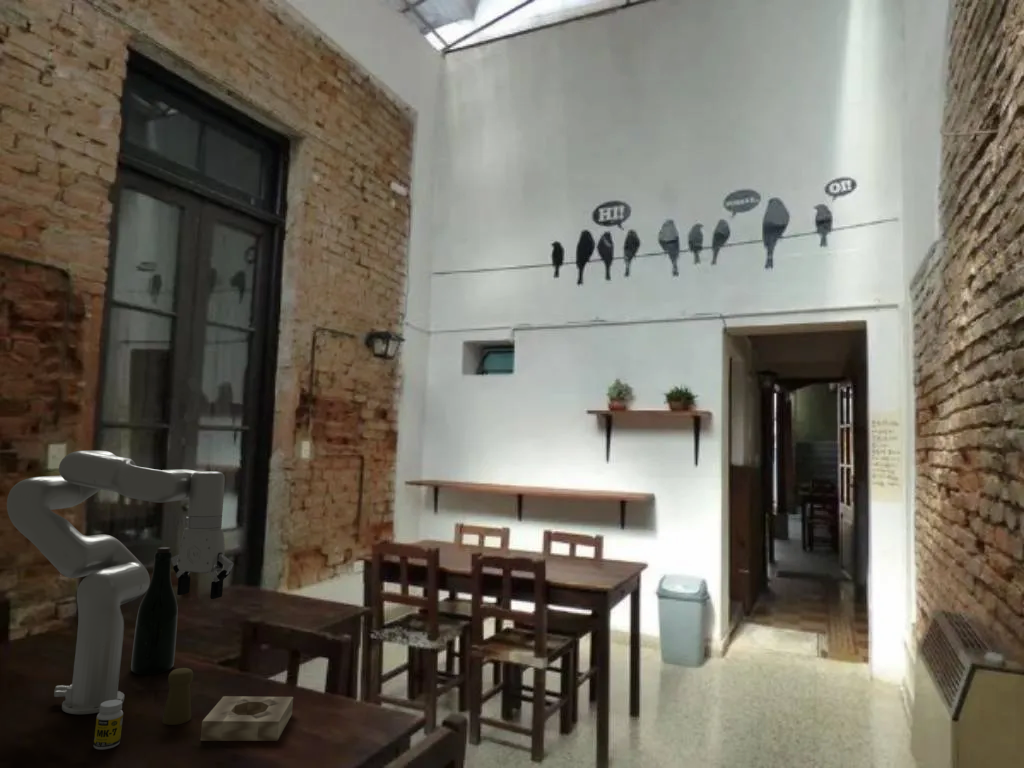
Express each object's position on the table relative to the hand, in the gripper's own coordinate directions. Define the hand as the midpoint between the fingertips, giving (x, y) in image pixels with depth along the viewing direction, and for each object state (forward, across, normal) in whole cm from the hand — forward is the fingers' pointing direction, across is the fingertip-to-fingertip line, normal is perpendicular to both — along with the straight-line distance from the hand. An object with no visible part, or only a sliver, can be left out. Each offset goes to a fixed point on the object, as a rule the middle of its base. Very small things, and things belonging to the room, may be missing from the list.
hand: (199, 595), depth 156 cm
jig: (+27, +17, 0) cm, 32 cm away
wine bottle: (+27, -31, +19) cm, 45 cm away
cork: (+27, -1, -4) cm, 27 cm away
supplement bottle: (+27, -4, -19) cm, 33 cm away
